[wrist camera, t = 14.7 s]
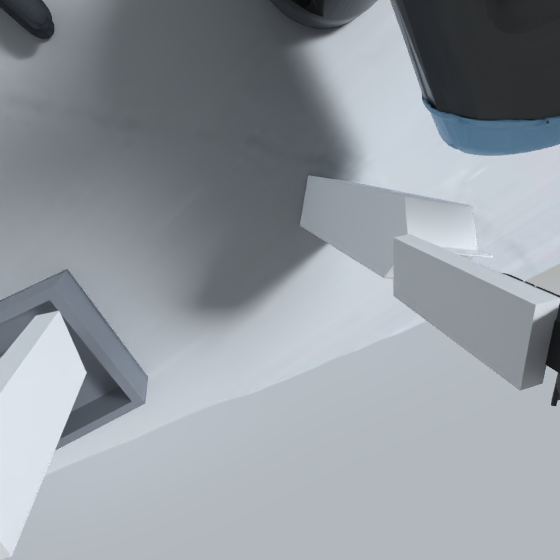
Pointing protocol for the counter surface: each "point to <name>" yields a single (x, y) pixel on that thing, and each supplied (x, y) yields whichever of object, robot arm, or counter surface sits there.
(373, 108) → the counter surface
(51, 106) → the counter surface
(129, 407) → the bin
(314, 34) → the counter surface
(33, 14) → the can opener
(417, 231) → the pale carton
